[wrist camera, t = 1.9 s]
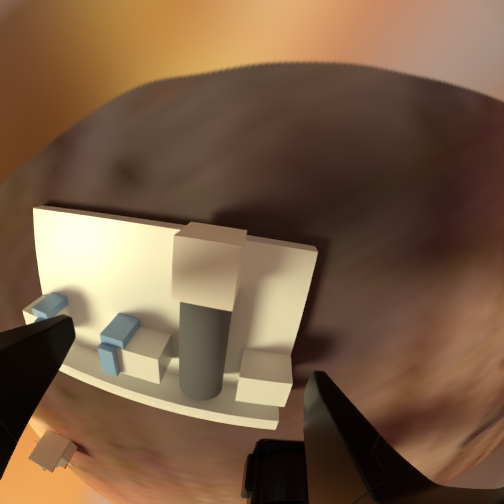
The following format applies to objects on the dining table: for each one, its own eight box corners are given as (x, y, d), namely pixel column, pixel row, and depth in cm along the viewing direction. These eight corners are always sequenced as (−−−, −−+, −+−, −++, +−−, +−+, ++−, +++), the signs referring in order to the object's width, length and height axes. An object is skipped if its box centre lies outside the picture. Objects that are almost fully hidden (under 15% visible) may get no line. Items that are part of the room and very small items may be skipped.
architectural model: (83, 450, 27) (65, 484, 20) (54, 438, 28) (36, 467, 21) (72, 438, 26) (52, 472, 19) (43, 425, 27) (23, 455, 20)
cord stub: (247, 230, 13) (241, 246, 11) (226, 375, 16) (220, 404, 14) (191, 221, 13) (173, 235, 11) (183, 366, 17) (172, 394, 14)
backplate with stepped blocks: (315, 246, 14) (329, 276, 11) (275, 392, 18) (275, 435, 14) (42, 205, 15) (2, 218, 11) (60, 336, 18) (34, 362, 15)
